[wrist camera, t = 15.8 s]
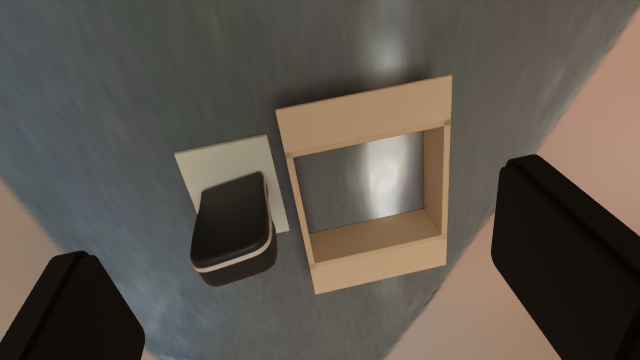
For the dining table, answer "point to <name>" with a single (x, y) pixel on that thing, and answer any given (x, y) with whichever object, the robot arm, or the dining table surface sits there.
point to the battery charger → (234, 231)
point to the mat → (232, 170)
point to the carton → (389, 232)
